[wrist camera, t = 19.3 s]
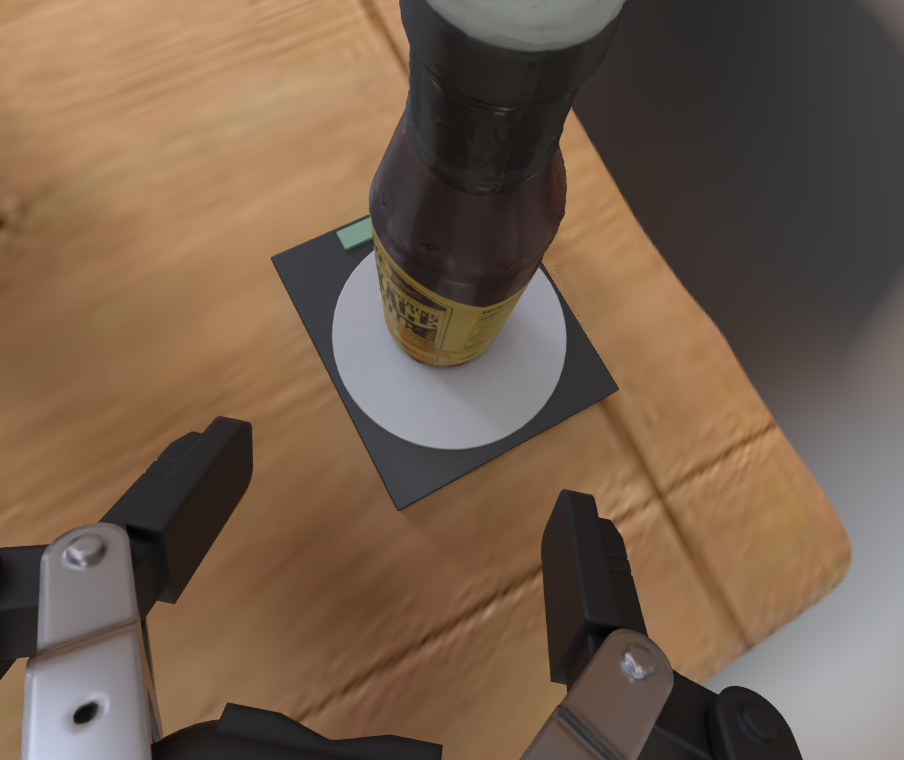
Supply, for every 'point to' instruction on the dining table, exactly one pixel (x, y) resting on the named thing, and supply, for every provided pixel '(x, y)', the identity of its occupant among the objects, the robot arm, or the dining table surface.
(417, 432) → the kitchen scale
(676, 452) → the dining table surface
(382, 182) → the sauce bottle
